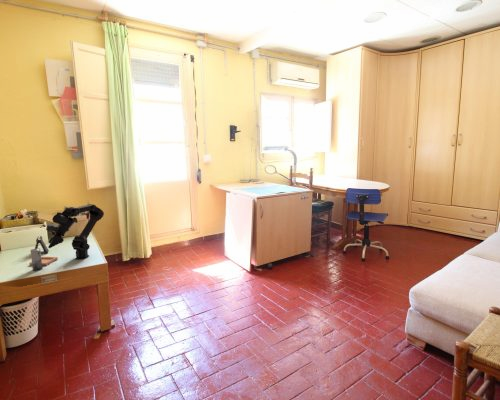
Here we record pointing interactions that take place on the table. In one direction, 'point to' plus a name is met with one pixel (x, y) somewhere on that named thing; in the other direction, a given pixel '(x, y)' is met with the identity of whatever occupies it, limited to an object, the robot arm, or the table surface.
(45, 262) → the tray
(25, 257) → the table surface
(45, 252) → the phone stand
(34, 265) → the canister
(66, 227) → the robot arm
